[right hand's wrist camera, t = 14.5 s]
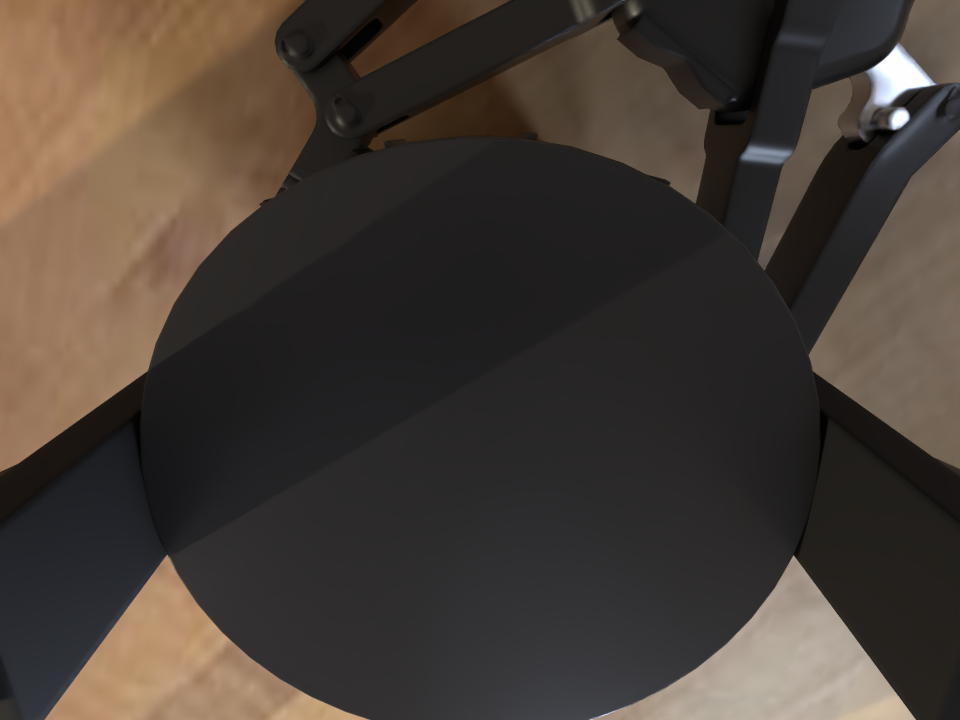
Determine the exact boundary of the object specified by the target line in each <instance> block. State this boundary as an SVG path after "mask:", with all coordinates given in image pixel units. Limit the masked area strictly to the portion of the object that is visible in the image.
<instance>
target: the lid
mask: <svg viewBox="0 0 960 720" xmlns="http://www.w3.org/2000/svg"><path fill="white" fill-rule="evenodd" d="M536 139H537V134H535V133H522V138H519V137H499V136H459V137H450V138H441V139H431V140H422V141H413V142H409V143H405V140H404V139H402V140H390V141H386V142H384V144H385V147H386V148H385V149H381V150H377V151H373V152H369V153H365V154H361V155H359V156H356V157H354V158H351V159H349V160H346V161H344V162H341V163H339V164H337V165H334V166H332V167H329V168H327V169H324V170H322V171H320V172H317V173H315V174H312V175H311V176H309V177H307V178H306V179H304V180H302V181H300V182H299V183H297V184H295V185H294V186H292V187H290V188H289V189H287V190H285V191H284V192H282V193H280V194H278V195H277V196H275V197H273V198H270V199H267V200H264V201H263V202H262V203H260V206H261V207H260V208H259V209H257V210H256V211H255V212H254V213H252V214H251V215H250V216H249V217H248V218H246V219H245V220H244V221H243V222H241V223H240V224H239V225H238V226H236V227H235V228H234V229H233V230H231V231H230V233H229V234H228V235H227V236H226V237H225V238H224V239H223V240H222V241H221V242H220V243H219V245H218V246H217V247H216V248H215V249H214V250H213V251H212V252H211V253H210V254H209V256H208V257H207V258H206V259H205V260H204V261H203V262H202V263H201V264H200V265H199V267H198V268H197V270H196V271H195V273H194V274H193V276H192V277H191V279H190V280H189V282H188V283H187V285H186V286H185V288H184V289H183V291H182V292H181V294H180V295H179V297H178V298H177V300H176V301H175V303H174V305H173V307H172V309H171V311H170V314H169V316H168V318H167V320H166V322H165V325H164V327H163V329H162V331H161V333H160V335H159V338H158V340H157V342H156V345H155V348H154V352H153V355H152V359H151V362H150V366H149V370H148V373H147V377H146V380H145V384H144V392H143V400H142V408H141V417H140V425H139V426H140V457H141V469H142V474H143V479H144V484H145V489H146V494H147V498H148V503H149V507H150V511H151V514H152V517H153V520H154V523H155V526H156V529H157V532H158V535H159V538H160V540H161V542H162V544H163V546H164V548H165V550H166V552H167V554H168V556H169V558H170V560H171V562H172V564H173V567H174V569H175V571H176V573H177V574H178V576H179V577H180V579H181V580H182V582H183V583H184V585H185V586H186V588H187V589H188V591H189V592H190V594H191V595H192V596H193V598H194V599H195V601H196V602H197V604H198V605H199V606H200V607H201V609H202V610H203V611H204V612H205V613H206V614H207V615H208V617H209V618H210V619H211V620H212V621H213V622H214V624H215V625H216V626H217V627H218V628H219V629H220V630H221V632H222V633H223V634H225V635H226V636H227V637H228V638H229V639H230V640H231V641H232V642H233V643H235V644H236V645H237V646H238V647H239V648H240V649H241V650H242V651H243V652H244V653H246V654H247V655H248V656H249V657H250V658H251V659H253V660H254V661H256V662H257V663H258V664H260V665H261V666H263V667H264V668H265V669H267V670H268V671H270V672H271V673H272V674H274V675H275V676H276V677H278V678H279V679H281V680H283V681H284V682H286V683H288V684H290V685H291V686H293V687H295V688H297V689H299V690H300V691H302V692H304V693H306V694H307V695H309V696H311V697H313V698H315V699H317V700H320V701H322V702H324V703H327V704H329V705H331V706H333V707H336V708H338V709H340V710H343V711H345V712H348V713H351V714H354V715H357V716H360V717H363V718H366V719H370V720H592V719H595V718H599V717H601V716H604V715H607V714H609V713H612V712H615V711H617V710H620V709H622V708H625V707H628V706H630V705H633V704H635V703H637V702H639V701H641V700H643V699H645V698H647V697H649V696H651V695H653V694H655V693H657V692H659V691H661V690H663V689H665V688H667V687H668V686H670V685H671V684H673V683H674V682H676V681H677V680H679V679H681V678H682V677H684V676H685V675H687V674H688V673H690V672H691V671H693V670H695V669H696V668H698V667H699V666H700V665H701V664H702V663H704V662H705V661H706V660H707V659H709V658H710V657H711V656H712V655H714V654H715V653H716V652H717V651H718V650H720V649H721V648H722V647H723V646H725V645H726V644H727V643H728V642H729V641H730V640H731V639H732V638H733V637H734V636H735V635H736V634H737V633H738V632H739V630H740V629H741V628H742V627H743V626H744V625H745V624H746V623H747V622H748V621H749V620H750V619H751V618H752V617H753V616H754V614H755V613H756V612H757V610H758V609H759V608H760V606H761V605H762V604H763V603H764V601H765V600H766V599H767V597H768V596H769V595H770V593H771V592H772V591H773V589H774V588H775V586H776V585H777V583H778V581H779V579H780V578H781V576H782V574H783V573H784V571H785V569H786V567H787V566H788V564H789V562H790V560H791V559H792V557H793V555H794V553H795V550H796V548H797V545H798V543H799V540H800V538H801V536H802V533H803V531H804V528H805V526H806V523H807V521H808V517H809V513H810V509H811V505H812V501H813V496H814V492H815V488H816V483H817V478H818V471H819V461H820V451H821V428H820V408H819V400H818V395H817V390H816V385H815V380H814V375H813V370H812V365H811V361H810V359H809V356H808V353H807V351H806V348H805V345H804V343H803V340H802V337H801V335H800V332H799V329H798V327H797V324H796V321H795V320H794V318H793V316H792V314H791V313H790V311H789V309H788V307H787V305H786V304H785V302H784V300H783V298H782V297H781V295H780V293H779V291H778V289H777V288H776V286H775V284H774V283H773V281H772V280H771V279H770V278H769V276H768V275H767V274H766V272H765V271H764V270H763V269H762V267H761V266H760V265H759V264H758V262H757V261H756V260H755V259H754V257H753V256H752V255H751V253H750V252H749V251H748V250H747V248H746V247H745V246H744V245H743V244H742V243H741V242H740V241H739V240H737V239H736V238H735V237H734V236H733V235H732V234H731V233H730V232H729V231H728V230H727V229H726V228H725V227H724V226H722V225H721V224H720V223H719V222H718V221H717V220H716V219H715V218H714V217H713V216H712V215H711V214H709V213H708V212H707V211H705V210H704V209H702V208H701V207H699V206H698V205H696V204H695V203H693V202H692V201H690V200H689V199H688V198H686V197H685V196H683V195H682V194H680V193H679V192H677V191H676V190H674V189H673V188H672V187H670V186H669V185H670V182H669V181H667V180H665V179H661V178H657V177H653V176H649V175H646V174H644V173H642V172H640V171H638V170H636V169H634V168H632V167H630V166H628V165H626V164H624V163H621V162H618V161H615V160H612V159H609V158H606V157H603V156H600V155H596V154H593V153H590V152H587V151H584V150H581V149H578V148H575V147H571V146H565V145H560V144H554V143H548V142H542V141H536Z"/></svg>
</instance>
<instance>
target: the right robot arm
mask: <svg viewBox="0 0 960 720" xmlns="http://www.w3.org/2000/svg"><path fill="white" fill-rule="evenodd" d="M147 373H148V371H147V372H146V373H145V374H143V375H142V376H140V377H139V378H138V379H136V380H135V381H133V382H132V383H131V384H129V385H128V386H126V387H125V388H124V389H122V390H121V391H119V392H118V393H117V394H115V395H114V396H112V397H111V398H110V399H108V400H107V401H105V402H104V403H103V404H101V405H100V406H98V407H97V408H96V409H94V410H93V411H91V412H90V413H89V414H87V415H86V416H84V417H83V418H82V419H80V420H79V421H77V422H76V423H75V424H73V425H72V426H70V427H69V428H68V429H66V430H65V431H63V432H62V433H61V434H59V435H58V436H57V437H55V438H54V439H52V440H51V441H50V442H48V443H47V444H45V445H44V446H43V447H41V448H40V449H38V450H37V451H36V452H34V453H33V454H31V455H30V456H29V457H27V458H26V459H24V460H23V461H22V462H20V463H19V464H17V465H15V466H12V467H10V468H8V469H6V470H4V471H1V472H0V720H44V719H45V718H46V717H47V715H48V714H49V713H50V711H51V710H52V709H53V707H54V706H55V705H56V703H57V702H58V701H59V699H60V698H61V697H62V695H63V694H64V692H65V691H66V690H67V688H68V687H69V686H70V684H71V683H72V682H73V680H74V679H75V678H76V676H77V675H78V674H79V672H80V671H81V670H82V668H83V667H84V666H85V664H86V663H87V662H88V660H89V659H90V657H91V656H92V655H93V653H94V652H95V651H96V649H97V648H98V647H99V645H100V644H101V643H102V641H103V640H104V639H105V637H106V636H107V635H108V633H109V632H110V631H111V629H112V628H113V627H114V625H115V624H116V623H117V621H118V620H119V618H120V617H121V616H122V614H123V613H124V612H125V610H126V609H127V608H128V606H129V605H130V604H131V602H132V601H133V600H134V598H135V597H136V596H137V594H138V593H139V592H140V590H141V589H142V588H143V586H144V585H145V584H146V582H147V581H148V579H149V578H150V577H151V575H152V574H153V573H154V571H155V570H156V569H157V567H158V566H159V565H160V563H161V562H162V561H163V559H164V558H165V557H166V555H167V552H166V550H165V548H164V546H163V544H162V542H161V540H160V538H159V535H158V532H157V529H156V526H155V523H154V520H153V517H152V514H151V511H150V507H149V503H148V498H147V494H146V489H145V484H144V479H143V474H142V469H141V457H140V426H139V425H140V417H141V408H142V400H143V392H144V384H145V380H146V377H147ZM813 375H814V380H815V385H816V390H817V395H818V400H819V408H820V428H821V451H820V461H819V471H818V478H817V483H816V488H815V492H814V496H813V501H812V505H811V509H810V513H809V517H808V521H807V523H806V526H805V528H804V531H803V533H802V536H801V538H800V540H799V543H798V545H797V548H796V550H795V553H794V556H795V557H796V559H797V560H798V561H799V563H800V564H801V565H802V567H803V568H804V570H805V571H806V572H807V574H808V575H809V576H810V578H811V579H812V580H813V582H814V583H815V584H816V586H817V587H818V588H819V590H820V591H821V592H822V594H823V595H824V596H825V598H826V599H827V600H828V602H829V603H830V604H831V606H832V607H833V609H834V610H835V611H836V613H837V614H838V615H839V617H840V618H841V619H842V621H843V622H844V623H845V625H846V626H847V627H848V629H849V630H850V631H851V633H852V634H853V635H854V637H855V638H856V639H857V641H858V642H859V643H860V645H861V646H862V648H863V649H864V650H865V652H866V653H867V654H868V656H869V657H870V658H871V660H872V661H873V662H874V664H875V665H876V666H877V668H878V669H879V670H880V672H881V673H882V674H883V676H884V677H885V678H886V680H887V681H888V683H889V684H890V685H891V687H892V688H893V689H894V691H895V692H896V693H897V695H898V696H899V697H900V699H901V700H902V701H903V703H904V704H905V705H906V707H907V708H908V709H909V711H910V712H911V713H912V715H913V716H914V717H915V719H916V720H960V469H958V468H956V467H954V466H951V465H949V464H947V463H945V462H943V461H940V460H938V459H936V458H933V457H932V456H931V455H929V454H928V453H926V452H925V451H924V450H922V449H921V448H919V447H918V446H917V445H915V444H914V443H912V442H911V441H910V440H908V439H907V438H905V437H904V436H903V435H901V434H900V433H898V432H897V431H896V430H894V429H893V428H891V427H890V426H889V425H887V424H886V423H884V422H883V421H882V420H880V419H879V418H877V417H876V416H875V415H873V414H872V413H870V412H869V411H868V410H866V409H865V408H863V407H862V406H861V405H859V404H858V403H856V402H855V401H854V400H852V399H851V398H849V397H848V396H847V395H845V394H844V393H842V392H841V391H840V390H838V389H837V388H835V387H834V386H833V385H831V384H830V383H828V382H827V381H826V380H824V379H823V378H821V377H820V376H819V375H817V374H816V373H814V372H813Z"/></svg>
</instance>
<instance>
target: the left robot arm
mask: <svg viewBox="0 0 960 720" xmlns="http://www.w3.org/2000/svg"><path fill="white" fill-rule="evenodd" d="M416 1H418V0H306V1H305V2H304V3H303V4H302V5H301V6H300V7H299V8H298V9H297V10H296V11H295V12H294V13H293V14H292V15H291V16H290V17H288V18H287V19H286V20H285V21H284V22H283V23H282V25H281V26H280V28H279V29H278V31H277V33H276V39H275V46H276V51H277V54H278V56H279V57H280V59H281V61H282V62H283V63H284V64H285V65H286V66H287V67H289V68H290V69H292V71H293V72H294V73H295V75H296V76H297V78H298V79H299V80H300V82H301V83H302V85H303V86H304V87H305V89H306V90H307V92H308V93H309V94H310V96H311V98H312V100H313V101H314V104H315V107H316V112H317V121H316V126H315V128H314V131H313V133H312V135H311V136H310V138H309V140H308V141H307V143H306V145H305V147H304V148H303V150H302V152H301V153H300V155H299V157H298V159H297V160H296V162H295V164H294V165H293V167H292V169H291V170H290V172H289V175H288V176H287V177H286V179H285V181H284V182H283V184H282V187H281V188H280V189H279V191H278V193H277V194H276V196H277V195H278V194H280V193H282V192H284V191H285V190H287V189H289V188H290V187H292V186H294V185H295V184H297V183H299V182H300V181H302V180H304V179H306V178H307V177H309V176H311V175H312V174H315V173H317V172H320V171H322V170H324V169H327V168H329V167H332V166H334V165H337V164H339V163H341V162H344V161H346V160H349V159H351V158H354V157H356V156H359V155H361V154H365V153H369V152H373V150H371V149H370V148H367V147H368V146H369V144H370V142H371V141H372V139H373V138H374V137H377V136H378V134H380V133H382V132H384V131H386V130H388V129H390V128H392V127H394V126H396V125H398V124H400V123H402V122H404V121H406V120H408V119H410V118H412V117H414V116H416V115H418V114H420V113H422V112H424V111H426V110H428V109H430V108H432V107H434V106H436V105H438V104H440V103H442V102H444V101H446V100H448V99H450V98H452V97H454V96H456V95H458V94H460V93H462V92H464V91H466V90H468V89H470V88H472V87H474V86H476V85H478V84H480V83H482V82H484V81H486V80H488V79H490V78H492V77H494V76H496V75H498V74H500V73H502V72H504V71H506V70H508V69H510V68H512V67H514V66H516V65H518V64H520V63H522V62H524V61H526V60H528V59H530V58H532V57H534V56H536V55H538V54H540V53H542V52H544V51H546V50H548V49H550V48H552V47H554V46H556V45H558V44H560V43H562V42H564V41H566V40H568V39H571V38H574V37H576V36H578V35H580V34H582V33H584V32H586V31H588V30H590V29H592V28H594V27H596V26H598V25H600V24H602V23H604V22H606V21H608V20H610V19H612V18H613V21H614V24H615V26H616V28H617V30H618V32H619V33H620V36H619V37H618V39H617V40H618V41H619V42H621V43H622V44H623V45H624V46H625V47H627V48H628V49H629V50H630V51H631V52H632V53H634V54H635V55H636V56H637V57H639V58H641V59H644V60H646V61H648V62H651V63H653V64H655V65H657V66H660V67H662V68H663V69H664V70H665V71H666V73H667V74H668V76H669V77H670V79H671V80H672V82H673V83H674V85H675V86H676V88H677V90H678V91H679V93H681V94H682V95H683V96H684V97H685V98H686V99H688V100H689V101H690V102H691V103H692V104H694V105H695V106H696V107H697V108H698V109H704V108H708V109H711V110H710V115H709V120H708V124H707V129H706V133H705V139H704V149H705V153H706V159H705V165H704V169H703V174H702V178H701V183H700V187H699V192H698V196H697V201H696V205H698V206H699V207H701V208H702V209H704V210H705V211H707V212H708V213H709V214H711V215H712V216H713V217H714V218H715V219H716V220H717V221H718V222H719V223H720V224H721V225H722V226H724V227H725V228H726V229H727V230H728V231H729V232H730V233H731V234H732V235H733V236H734V237H735V238H736V239H737V240H739V241H740V242H741V243H742V244H743V245H744V246H745V247H746V248H747V250H748V251H749V252H750V253H751V255H752V256H753V257H754V259H755V260H756V261H757V260H758V257H759V253H760V249H761V245H762V241H763V237H764V234H765V230H766V226H767V222H768V218H769V215H770V211H771V207H772V203H773V199H774V195H775V192H776V188H777V184H778V180H779V176H780V172H781V169H782V166H783V164H784V163H785V161H786V160H787V159H788V158H789V157H790V156H791V155H792V153H793V152H794V150H795V148H796V145H797V143H798V140H799V136H800V132H801V128H802V125H803V121H804V117H805V113H806V110H807V106H808V102H809V98H810V95H811V91H812V89H815V88H818V87H821V86H824V85H827V84H830V83H833V82H836V81H839V80H842V79H845V78H848V77H849V79H850V80H851V83H852V87H853V93H852V98H851V101H850V103H849V105H848V106H847V108H846V110H845V111H844V112H843V113H842V114H841V115H840V117H839V119H838V127H839V129H840V130H841V132H842V134H843V135H842V136H841V138H840V139H839V140H838V141H837V142H836V143H835V144H834V146H833V147H832V149H831V150H830V151H829V153H828V154H827V155H826V157H825V158H824V160H823V162H822V163H821V165H820V167H819V168H818V170H817V172H816V174H815V175H814V177H813V179H812V181H811V183H810V185H809V187H808V189H807V191H806V193H805V195H804V196H803V198H802V200H801V202H800V204H799V206H798V208H797V210H796V212H795V214H794V216H793V217H792V219H791V221H790V223H789V225H788V227H787V229H786V231H785V233H784V235H783V237H782V238H781V240H780V242H779V244H778V246H777V248H776V250H775V252H774V254H773V256H772V258H771V259H770V261H769V263H768V265H767V267H766V269H765V272H766V274H767V275H768V276H769V278H770V279H771V280H772V281H773V283H774V284H775V286H776V288H777V289H778V291H779V293H780V295H781V297H782V298H783V300H784V302H785V304H786V305H787V307H788V309H789V311H790V313H791V314H792V316H793V318H794V320H795V321H796V324H797V327H798V329H799V332H800V335H801V337H802V340H803V343H804V345H805V348H806V351H807V353H808V355H809V353H810V351H811V350H812V348H813V346H814V344H815V343H816V341H817V339H818V338H819V336H820V334H821V332H822V331H823V329H824V327H825V325H826V324H827V322H828V320H829V318H830V317H831V315H832V313H833V311H834V310H835V308H836V306H837V305H838V303H839V301H840V299H841V298H842V296H843V294H844V292H845V291H846V289H847V287H848V285H849V284H850V282H851V280H852V279H853V277H854V275H855V273H856V272H857V270H858V268H859V266H860V265H861V263H862V261H863V259H864V258H865V256H866V254H867V252H868V251H869V249H870V247H871V246H872V244H873V242H874V240H875V239H876V237H877V235H878V233H879V232H880V230H881V228H882V226H883V225H884V223H885V221H886V220H887V218H888V216H889V214H890V213H891V211H892V209H893V207H894V206H895V204H896V202H897V200H898V199H899V197H900V195H901V193H902V192H903V190H904V188H905V187H906V185H907V183H908V181H909V180H910V178H911V176H912V175H913V174H914V173H915V172H916V171H917V170H918V169H919V168H920V167H921V166H922V165H923V164H925V163H926V162H927V161H928V160H929V159H930V158H931V157H932V156H933V155H934V154H935V153H936V152H937V151H938V150H939V149H940V148H941V147H942V146H943V145H944V144H945V143H946V142H947V141H948V140H949V139H950V138H951V137H952V136H953V135H954V134H955V133H956V132H957V131H958V130H959V129H960V83H948V84H939V85H937V84H935V83H934V82H933V81H932V80H931V79H930V78H929V77H928V75H927V74H926V73H925V72H924V71H923V70H922V69H921V67H920V66H919V65H918V64H917V63H916V62H915V60H914V59H913V58H912V57H911V56H910V55H909V54H908V52H907V51H906V50H905V49H904V48H903V47H902V45H901V44H900V43H899V40H900V39H901V37H902V34H903V32H904V30H905V26H906V23H907V20H908V16H909V13H910V11H911V8H912V5H913V3H914V1H915V0H511V1H509V2H507V3H505V4H503V5H501V6H499V7H497V8H495V9H493V10H491V11H489V12H488V13H486V14H484V15H482V16H480V17H478V18H476V19H474V20H472V21H470V22H468V23H466V24H464V25H462V26H460V27H459V28H457V29H455V30H453V31H451V32H449V33H447V34H445V35H443V36H441V37H439V38H437V39H435V40H433V41H431V42H430V43H428V44H426V45H424V46H422V47H420V48H418V49H416V50H414V51H412V52H410V53H408V54H406V55H404V56H403V57H401V58H399V59H397V60H395V61H393V62H391V63H389V64H387V65H385V66H383V67H381V68H379V69H377V70H375V71H374V72H372V73H370V74H368V75H366V76H364V77H362V78H360V76H359V75H358V73H357V72H356V70H355V69H354V68H353V66H352V65H351V62H352V61H353V60H354V59H355V58H356V57H357V56H358V55H359V54H360V53H361V52H362V51H364V50H365V49H366V48H367V47H368V46H369V45H370V44H371V43H372V42H373V41H374V40H375V39H376V38H378V37H379V36H380V35H381V34H382V33H383V32H384V31H385V30H386V29H387V28H388V27H389V26H391V25H392V24H393V23H394V22H395V21H396V20H397V19H398V18H399V17H400V16H401V15H402V14H403V13H405V12H406V11H407V10H408V9H409V8H410V7H411V6H412V5H413V4H414V3H415V2H416Z"/></svg>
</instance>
